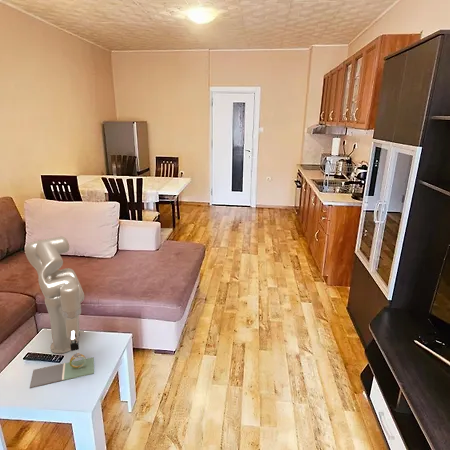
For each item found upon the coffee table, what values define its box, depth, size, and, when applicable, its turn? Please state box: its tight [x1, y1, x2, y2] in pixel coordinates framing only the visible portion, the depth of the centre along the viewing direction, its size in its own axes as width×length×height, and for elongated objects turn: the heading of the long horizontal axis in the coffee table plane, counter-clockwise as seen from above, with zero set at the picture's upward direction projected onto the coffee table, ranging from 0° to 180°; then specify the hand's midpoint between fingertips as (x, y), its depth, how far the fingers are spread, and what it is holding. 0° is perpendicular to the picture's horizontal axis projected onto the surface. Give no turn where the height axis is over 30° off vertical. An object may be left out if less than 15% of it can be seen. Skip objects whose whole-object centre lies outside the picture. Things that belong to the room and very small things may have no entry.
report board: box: [29, 357, 95, 389], centre depth 151 cm, size 11×26×1 cm, turn 111°
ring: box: [69, 352, 87, 369], centre depth 152 cm, size 7×3×8 cm, turn 105°
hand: (75, 342), depth 149 cm, fingers open, 9 cm apart
